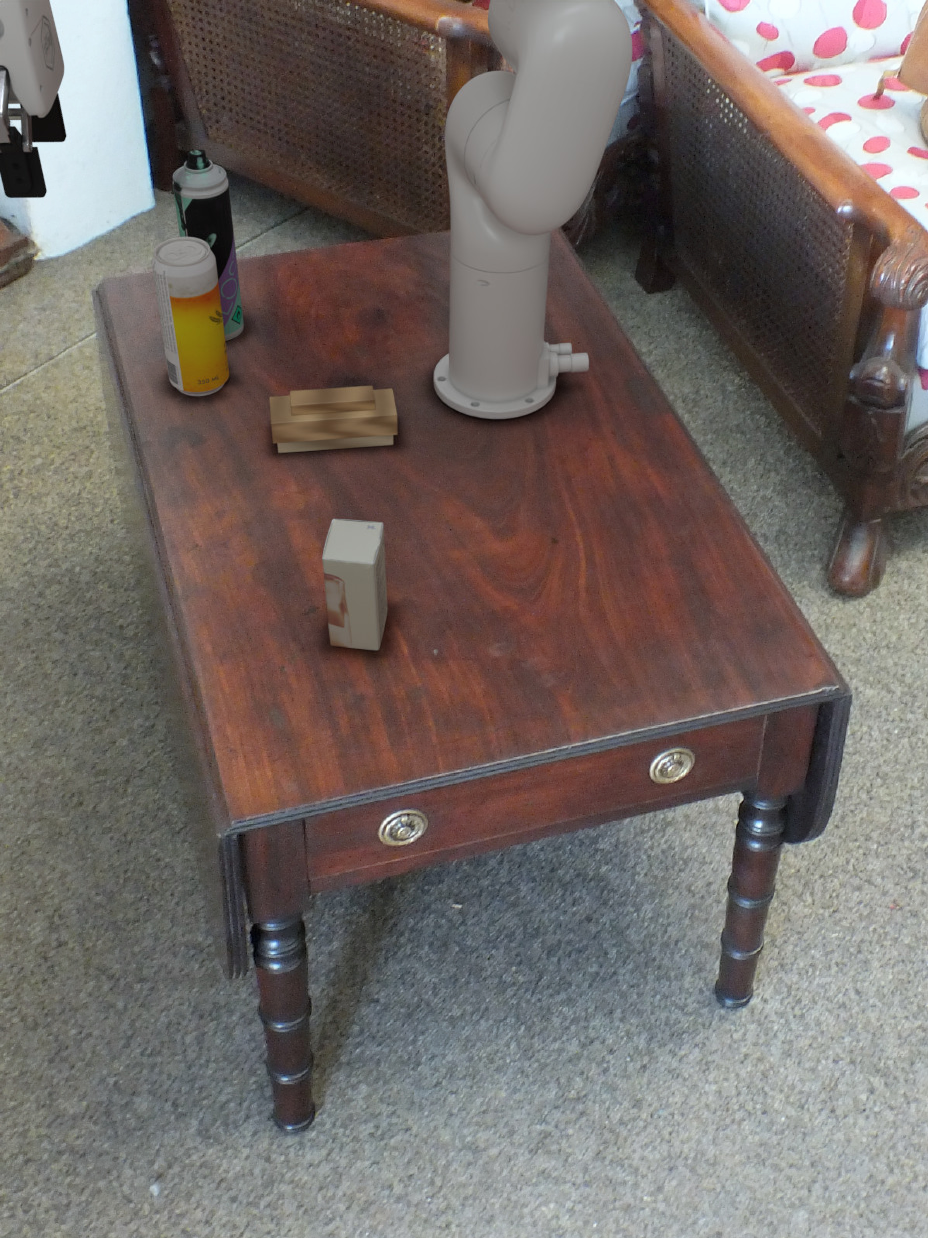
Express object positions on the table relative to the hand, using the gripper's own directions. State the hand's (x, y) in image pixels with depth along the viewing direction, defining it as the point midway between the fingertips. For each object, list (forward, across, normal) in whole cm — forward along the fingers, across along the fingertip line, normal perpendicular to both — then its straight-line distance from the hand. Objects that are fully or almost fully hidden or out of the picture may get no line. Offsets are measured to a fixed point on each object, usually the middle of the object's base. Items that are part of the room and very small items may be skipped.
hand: (37, 167), depth 113 cm
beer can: (+29, +11, -9) cm, 32 cm away
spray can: (+29, +21, -10) cm, 37 cm away
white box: (+29, -26, -25) cm, 46 cm away
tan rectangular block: (+29, +1, -23) cm, 37 cm away
